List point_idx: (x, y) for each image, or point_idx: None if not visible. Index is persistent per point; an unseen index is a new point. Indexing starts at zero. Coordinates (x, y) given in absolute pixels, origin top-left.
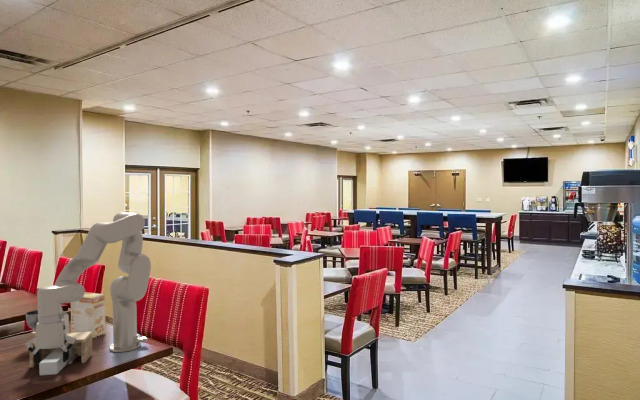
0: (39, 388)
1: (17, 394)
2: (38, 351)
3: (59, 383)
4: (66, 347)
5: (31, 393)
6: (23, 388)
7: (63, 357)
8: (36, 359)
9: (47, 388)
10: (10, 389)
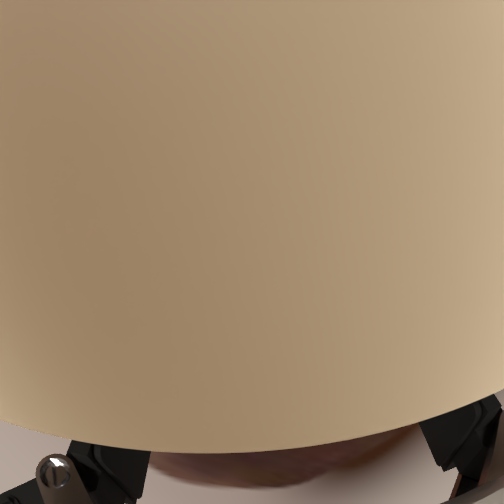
0: (299, 467)
1: (228, 487)
2: (105, 494)
3: (378, 436)
4: (499, 448)
5: (284, 485)
6: (218, 465)
7: (425, 426)
8: (144, 456)
9: (336, 465)
10: (160, 462)
